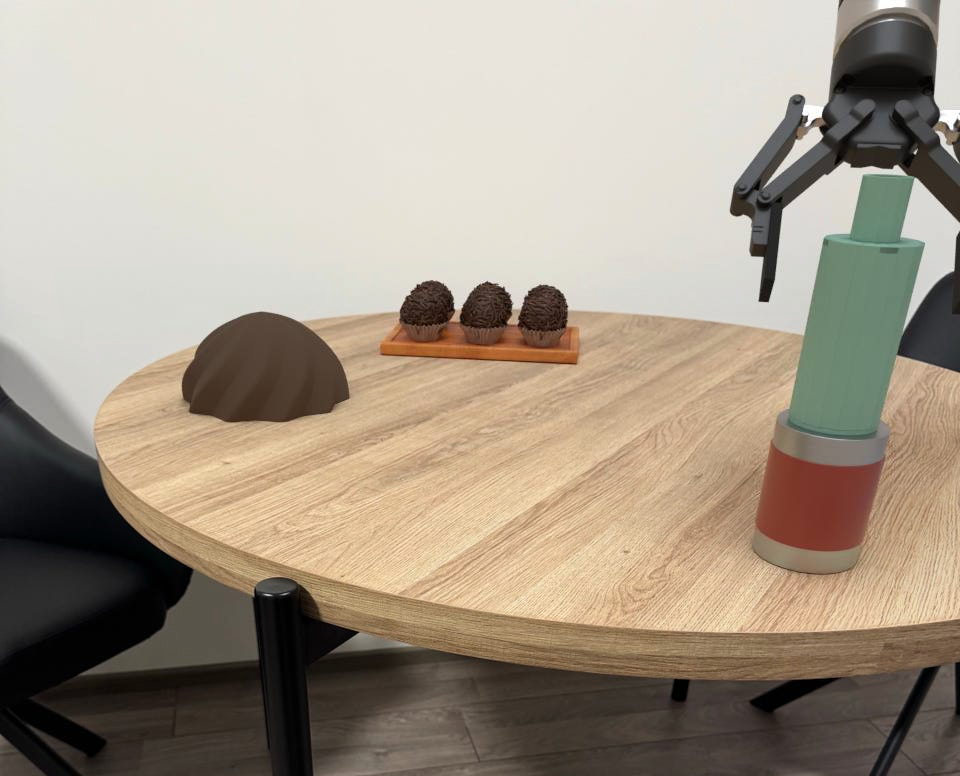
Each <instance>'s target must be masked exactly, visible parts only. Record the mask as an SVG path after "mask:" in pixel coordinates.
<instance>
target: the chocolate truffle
mask: <svg viewBox="0 0 960 776" xmlns="http://www.w3.org/2000/svg"><path fill="white" fill-rule="evenodd" d="M409 293H410V294H408V295H405V298H404V301H402V304H401V306H400V308H399V319H398V323H397V324H396V325H395V326H394V327H393V328H392V330H391V331H390V332H389V333H388V334H387V336H386V337H385V338H384V339H383V340H382V341H381V343H380V345H379V351H380V352H379V353H380V354H381V355H388V356H389V355H390V356H407V357H427V358H428V357H429V358H449V359H450V358H451V359H470V360H472V359H473V360H493V361H515V362H532V363H533V362H537V363H555V364H556V363H557V364H577V363H578V359H579V339H580V327H579V326H573V325H571V326H570V325H569V326H568V323H569V322H568V321H569V320H568V318H569V312H568V311H569V305H568V303H567V298H566V297H565V294H564V293H563V292H562V291H561V290H560V289H558V288H556V286H554V285H549V284H541V283H540V284H539V285H537V286H535V287H532V288H531V289H530V290H528V291H527V294H525V296H524V297H523V302H522V305H521V308H520V312H519V315H518V316H517V320H518V322H517V323H508V322H509V320H510V319H511V317H512V316H513V312H512V311H513V305H514V302H513V300H512V298H511V297H512V294H511V293H510V292H509V291H507V290H506V287H505V286H504V285H503V286H500V284H499V283H498V282H497V283H496V282H495V283H493V282H490V281H489V280H487V281H485V282H482V283H479V284H478V285H476V287H473V290H471V292H469V294H468V296H467V298H466V300H465V301H464V303H463V304H462V307H461V310H460V314H459V321H455V320H452V319H453V318H454V315H455V313H456V312H457V310H456V308H455V297H454V296H453V293H452V290H449V288H448V286H447V285H446V284H445V282H443V283H442V282H440V281H438V280H433V279H430V280H425V281H422V282H421V283H416V286H415V287H414V288H413V289H412V290H410V291H409Z"/></svg>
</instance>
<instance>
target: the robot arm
mask: <svg viewBox="0 0 960 776" xmlns="http://www.w3.org/2000/svg"><path fill="white" fill-rule="evenodd" d="M940 10H941V0H838V6H837V16H836V23H835V25H836V26H835V34H834V43H833V52H832V64H831V68H830V78H829V89H828V100H827V103H825V105H824V106H818V105H810V104H806V98H805V96H804V95H803V94H799V93H798V94H797V93H796V94H793V95H791V96H790V97H789V99H788V103H787V106H786V111H785V114H784V118H783V119H782V120H781V122H780V123H779V125H778V126H777V127H776V128H775V130H774V131H773V132H772V134H771V135H770V136H769V138H768V139H767V141H765V143H764V144H763V145H762V146H761V148H760V150H759V151H758V152H757V154H756V155H755V157H754V158H753V159H752V161H751V162H750V163H749V165H748V166H747V167H746V169H745V170H744V171H743V172H742V174H741V175H740V176H739V178H738V179H737V180H736V182H735V183H734V184H733V188H732V194H731V200H730V204H729V205H730V206H729V213H730V215H732V216H733V217H736V218H737V217H742V216H746V217H748V218H749V219H750V221H751V224H750V228H751V229H750V239H749V248H748V250H749V254H750V257H754V258H762V267H761V274H760V275H761V277H760V285H759V293H758V300H757V302H758V303H769V302H770V299H771V296H772V292H773V289H774V285H775V282H776V274H777V265H778V256H779V246H780V237H781V227H782V221H783V212H784V211H783V210H784V209H785V208H786V207H788V206H789V205H790V204H791V203H792V202H793V201H795V200H796V199H797V198H798V197H800V196H801V195H802V194H803V193H804V192H805V191H807V190H808V189H809V188H810V187H811V186H813V185H814V184H815V183H816V182H817V181H819V180H820V179H821V178H822V177H824V176H829V175H831V173H833V172H834V171H835V170H836V169H837V168H839V166H841V165H842V164H844V163H846V164H849V165H850V168H851V169H863V168H869V167H874V168H878V169H881V170H894V167H895V166H898V167H899V168H900V169H901V171H903V172H904V174H905V175H906V176H912V177H915V179H917V180H918V181H919V183H921V184H922V185H923V187H924V188H926V190H928V192H929V193H930V194H931V195H932V196H933V197H934V198H935V200H937V201H938V202H939V203H940V204H941V206H943V207H944V208H945V209H946V211H948V213H949V214H950V215H951V216H952V217H953V218H954V219H955V221H957V222H958V223H959V224H960V109H959V108H957V109H942V110H940V107H939V106H938V105H937V103H936V100H935V93H936V92H935V91H936V90H935V89H936V78H937V77H936V75H937V61H938V44H939V34H940V13H941V11H940ZM813 128H818V130H819V133H820V134H821V135H822V137H821V139H820V141H818V142H817V143H816V144H814V145H813V146H812V147H811V148H809V150H807V152H805V153H804V154H802V156H800V157H799V158H798V159H796V160H795V161H794V162H793V163H792V164H790V166H788V167H787V168H786V169H784V171H782V172H781V173H780V174H779V175H778V176H776V177H775V178H773V180H771V178H772V177H773V175H774V174H775V173H776V171H778V169H779V167H780V166H781V165H782V164H783V162H784V161H785V160H786V158H787V157H788V155H789V154H790V153H791V151H792V149H793V148H794V146H795V143H796V141H801V140H803V139H804V137H805V136H806V135H808V134H809V132H810V130H811V129H813ZM938 132H940V133H942V134H943V136H944V137H945V139H946V140H945V144H946V145H947V146H952V150H953V153H954V156H955V158H956V159H955V158H954V157H953V155H951V154H950V153H949V151H947V150H946V148H944V146H943V145H942V144H941V143H942V142H941V137H940V135H939V134H938ZM770 180H771V182H769V181H770ZM951 302H952V304H951V315H960V230H959V231H958V233H957V235H956V236H955V250H954V268H953V286H952V301H951Z"/></svg>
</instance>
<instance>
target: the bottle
mask: <svg viewBox="0 0 960 776" xmlns="http://www.w3.org/2000/svg"><path fill="white" fill-rule="evenodd" d="M915 180H916V178H915V177H912V176H907V175H906V174H905V175H902V174H891V173H890V174H889V173H887V174H886V173H865V174H862V177H861V181H860V187H859V191H858V196H857V200H856V205H855V210H854V214H853V219H852V224H851V229H850V233H833V234H827V235H825V236H824V237H823V239H822V245H821V251H820V255H819V260H818V264H817V269H816V275H815V278H814V279H815V280H814V285H813V290H812V294H811V299H810V304H809V309H808V315H807V320H806V324H805V329H804V335H803V340H802V344H801V348H800V354H799V360H798V365H797V369H796V374H795V379H794V384H793V388H792V394H791V399H790V403H789V407H788V409H789V416H788V417H789V420H790V421H791V422H792V423H793V424H795V425H797V426H799V427H802V428H804V429H807V430H811V431H815V432H819V433H824V434H831V435H842V436H857V435H866V434H870V433H873V432H875V431H876V430H877V429H878V426H879V422H880V420H881V418H882V415H883V410H884V406H885V404H886V403H885V402H886V398H887V395H888V390H889V388H890V383H891V379H892V375H893V371H894V368H895V363H896V359H897V356H898V351H899V348H900V344H901V340H902V335H903V332H904V329H905V324H906V320H907V316H908V313H909V309H910V306H911V302H912V296H913V293H914V289H915V286H916V281H917V277H918V274H919V270H920V265H921V262H922V258H923V254H924V251H925V246H926V242H924V241H921V240H919V239H914V238H908V237H903V236H902V232H903V228H904V224H905V219H906V215H907V211H908V207H909V203H910V199H911V195H912V191H913V187H914V182H915Z"/></svg>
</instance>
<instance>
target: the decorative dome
mask: <svg viewBox="0 0 960 776" xmlns="http://www.w3.org/2000/svg"><path fill="white" fill-rule="evenodd" d="M181 393H182V399H184V400H185V401H187V402H188V403H190V405H189V408H188V412H189V413H192V414H200V415H205V416H206V415H208V416H212V417H215V418H217V419H220V420H221V421H224V422H227V423H234V422H246V421H247V422H248V421H262V422H263V421H264V422H275V423H276V422H277V423H284V422H289V421H292V420H294V419H297V418H300V417H303V416H310V415H311V416H312V415H321V414H328V413H331V412H332V411H333V409H334V406H335V405H336V404H338V403H341V402H343V401H346V400H348V399H350V388H349V382H348V379H347V374H346V371H345V369H344V367H343V365H342V363H341V360H340V358H339V357H338V356H337V354H336V353H335V352H334V351H333V349H332V348H331V347H330V346H329V344H328V343H327V342H326V341H325V340H323V339H322V338H321V336H319V335H318V334H317V333H316V332H315V331H313V330H312V329H311V328H310V327H308V326H306V325H305V324H304V323H302V322H300V321H298V320H296V319H294V318H292V317H290V316H286V315H284V314H280V313H275V312H270V311H255V312H248V313H246V314H242V315H240V316H238V317H236V318H233V319H231V320H229V321H226V322H225V323H223V324H221V325H220V326H218V327H215V329H213V330H212V331H211V332H210V333H209V334H208V335H206V337H204V339H203V340H201V342H200V343H199V344H198V346H197V348H196V350H195V352H194V358H193V359H192V360H191V362H189V364H188V366H187V368H186V369H185V371H184V373H183V375H182V379H181Z"/></svg>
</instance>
